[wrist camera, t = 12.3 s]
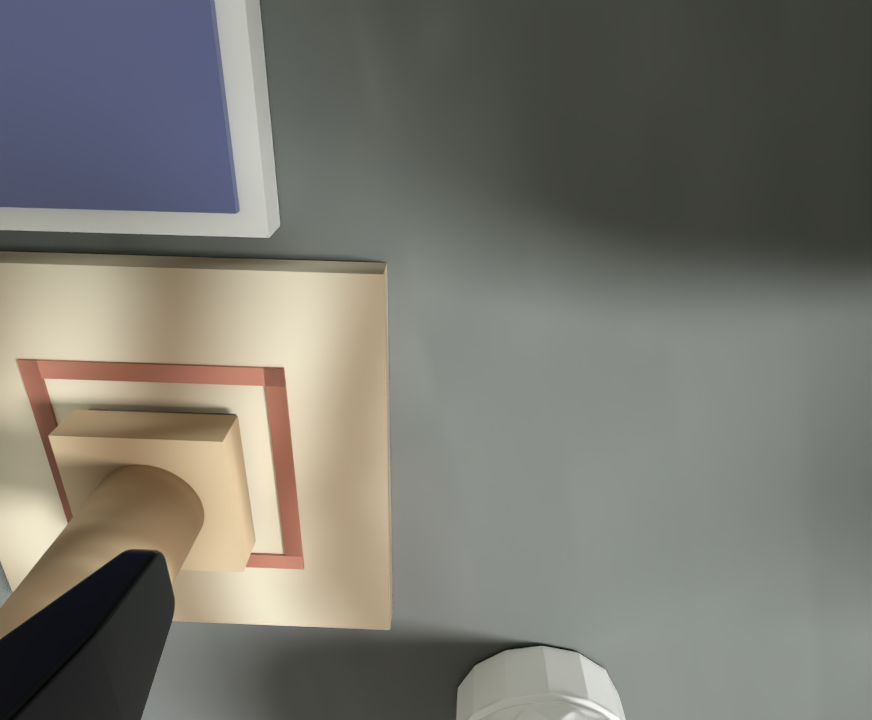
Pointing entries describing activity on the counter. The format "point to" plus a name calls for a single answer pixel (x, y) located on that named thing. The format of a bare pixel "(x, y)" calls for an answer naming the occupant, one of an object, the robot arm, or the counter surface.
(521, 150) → the counter surface
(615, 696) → the white cup
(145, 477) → the stamp
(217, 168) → the ink pad
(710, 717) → the counter surface
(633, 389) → the counter surface
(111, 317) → the board
